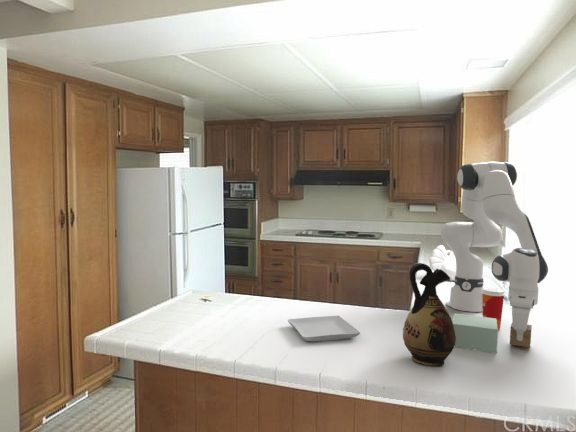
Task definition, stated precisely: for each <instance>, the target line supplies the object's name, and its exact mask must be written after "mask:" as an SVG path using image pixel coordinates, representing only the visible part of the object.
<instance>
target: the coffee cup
mask: <svg viewBox="0 0 576 432" xmlns="http://www.w3.org/2000/svg"><path fill="white" fill-rule="evenodd" d="M481 293H482V309H483V311H482V317H488V318H496V320H497V327H498V330H499V331H500V330H501V324H502V316H503V306H504V299H505V297H504V296H506V293H505V291H504V290H503V289H500V288H499V289H498V288H493V287H483V291H482V292H481Z"/></svg>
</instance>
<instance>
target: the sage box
mask: <svg viewBox="0 0 576 432" xmlns="http://www.w3.org/2000/svg"><path fill="white" fill-rule="evenodd" d="M452 322H453V325H454V330H455V335H456V341H455V347H454V348H460V347H462V348H461V349H466V348H469V350H473V349H476V350H475V351H479V350H480V351H482V352H488V353H494V354H497V352H498V334H499V333H498V327H497V320H496V318H488V317H483V316H479V315H477V316H476V315H469V314H462V313H453V317H452Z"/></svg>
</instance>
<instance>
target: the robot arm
mask: <svg viewBox="0 0 576 432" xmlns="http://www.w3.org/2000/svg"><path fill="white" fill-rule="evenodd" d="M456 176H457V177H456V178H457V183H458V186H459V187H460V188H461V189H462V194H461V204H460V205H461V206H460V210H461V212H462V214H463V215H464V216H465V217H467V218H468V219H470V220H472V221H469V222H468V221H450V222H446V223H444V225H442V227H441V229H440V237H441V241H442V242H443V243H444V244H445V245H446V246H448V247H449V249H450V251H451V250H452V251H453V253H454V255H455V258H456V276H455V281H454V285H453V286H452V287H451V288H450V294H449V301H447V302H445V305H446V306H448V307H450V308H452V309H455V310H459V311H462V312H472V313H474V312H475V313H480V312H481V313H483V309H482V293H481V292H482V291H483V289H484V287H483V286H484V278H483V273H484V272H483V271H484V263H483V259H482V258H481V257H479V256H478V255H476V254H474V253H472V252H471V251H470V248H471V247H472V248H474V247H475V248H477V247H478V248H492V247H497V246H499V245H500V244H501V242H502V241H503V236H504V235H503V231H502V228H501V227H500V226H499V225H501V226H504V227H506V228H508V229H510V230H511V231H513V232H514V233H515V235H516V236H517V238H518V241H519V244H520V247H517V248H513V249H512V250H511V252H509V253H506V254H500V255H497V256H496V257H495V258H493V260H492V263H491V273H492V275H493V277H494V278H495V279H496V280H498V281H500V282H504V283H505V282H506V283H508V284H509V285H508V296H507V300H508V301H509V305H510V306H511V316H512V317H511V320H512V321H511V322H513V329H514V330H516V331H517V340H519V341H523V333H524V332H525V331H526V328H527V325H528V322H529V317H530V313H531V311H532V309H534V307H535V305H538V302H539V284H540V283H541V282H542V281H544V279H545V278H546V277H547V275H548V273H549V266H548V263H547V262H546V259H545V257H544V256H543V254H542V251H541V249H540V247H539V243H538V241H537V237H536V235H535V232H534V229H533V226H532V224H531V223H532V222H531V221H530V219H529V216H528V215H527V214H526V213H525V212H523V211H522V209H521V208H520V207H519V204H518V202H517V200H516V197H515V196H516V195H515V191H514V187H513V186H514V185H515V183H516V182H517V179H518V170H517V167H516V166H515V164H513V162H509V161H508V162H507V161H502V162H500V161H486V162H477V163H476V162H475V163H472V164H471V163H466V164H464V165H461V166H460V167H459V169H458V171H457V175H456ZM498 224H499V225H498Z"/></svg>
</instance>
